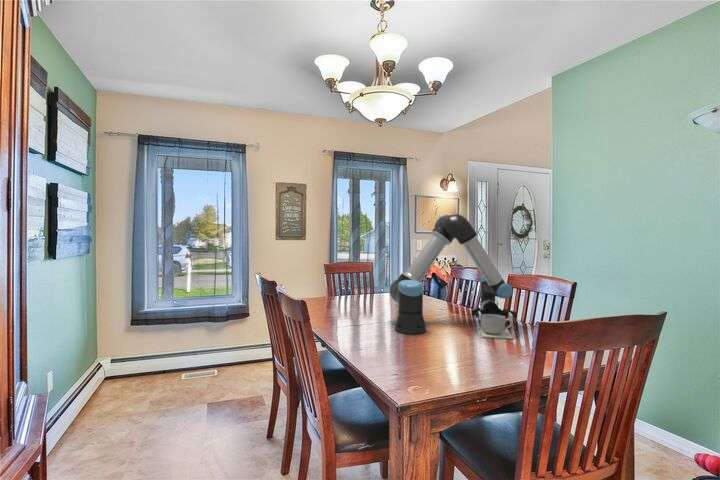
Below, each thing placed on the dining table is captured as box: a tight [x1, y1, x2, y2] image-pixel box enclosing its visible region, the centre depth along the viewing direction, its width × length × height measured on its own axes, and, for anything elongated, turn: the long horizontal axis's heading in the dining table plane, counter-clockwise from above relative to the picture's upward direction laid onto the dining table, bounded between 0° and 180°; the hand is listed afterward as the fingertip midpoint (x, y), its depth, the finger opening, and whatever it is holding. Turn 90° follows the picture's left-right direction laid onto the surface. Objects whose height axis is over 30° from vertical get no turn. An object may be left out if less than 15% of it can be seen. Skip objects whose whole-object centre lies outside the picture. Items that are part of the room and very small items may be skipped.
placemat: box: [478, 325, 515, 341], centre depth 174 cm, size 13×19×1 cm
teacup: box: [480, 314, 514, 334], centre depth 172 cm, size 14×11×8 cm
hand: (495, 317), depth 171 cm, fingers open, 13 cm apart
